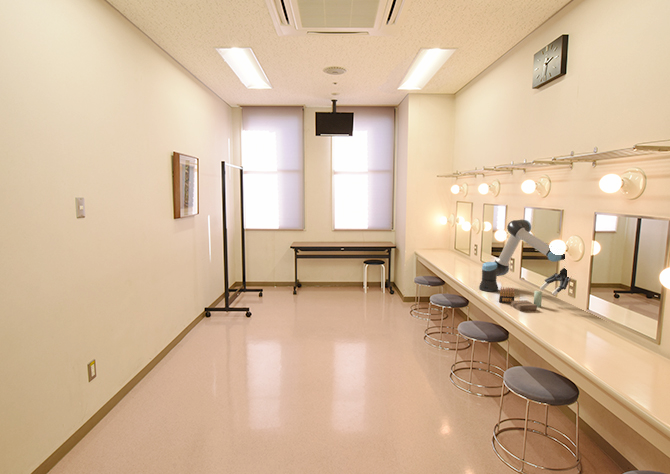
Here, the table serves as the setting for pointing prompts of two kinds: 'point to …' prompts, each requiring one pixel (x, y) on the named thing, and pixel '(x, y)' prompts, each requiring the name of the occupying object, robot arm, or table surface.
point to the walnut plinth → (524, 305)
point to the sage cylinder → (537, 298)
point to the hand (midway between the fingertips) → (546, 291)
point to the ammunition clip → (506, 295)
